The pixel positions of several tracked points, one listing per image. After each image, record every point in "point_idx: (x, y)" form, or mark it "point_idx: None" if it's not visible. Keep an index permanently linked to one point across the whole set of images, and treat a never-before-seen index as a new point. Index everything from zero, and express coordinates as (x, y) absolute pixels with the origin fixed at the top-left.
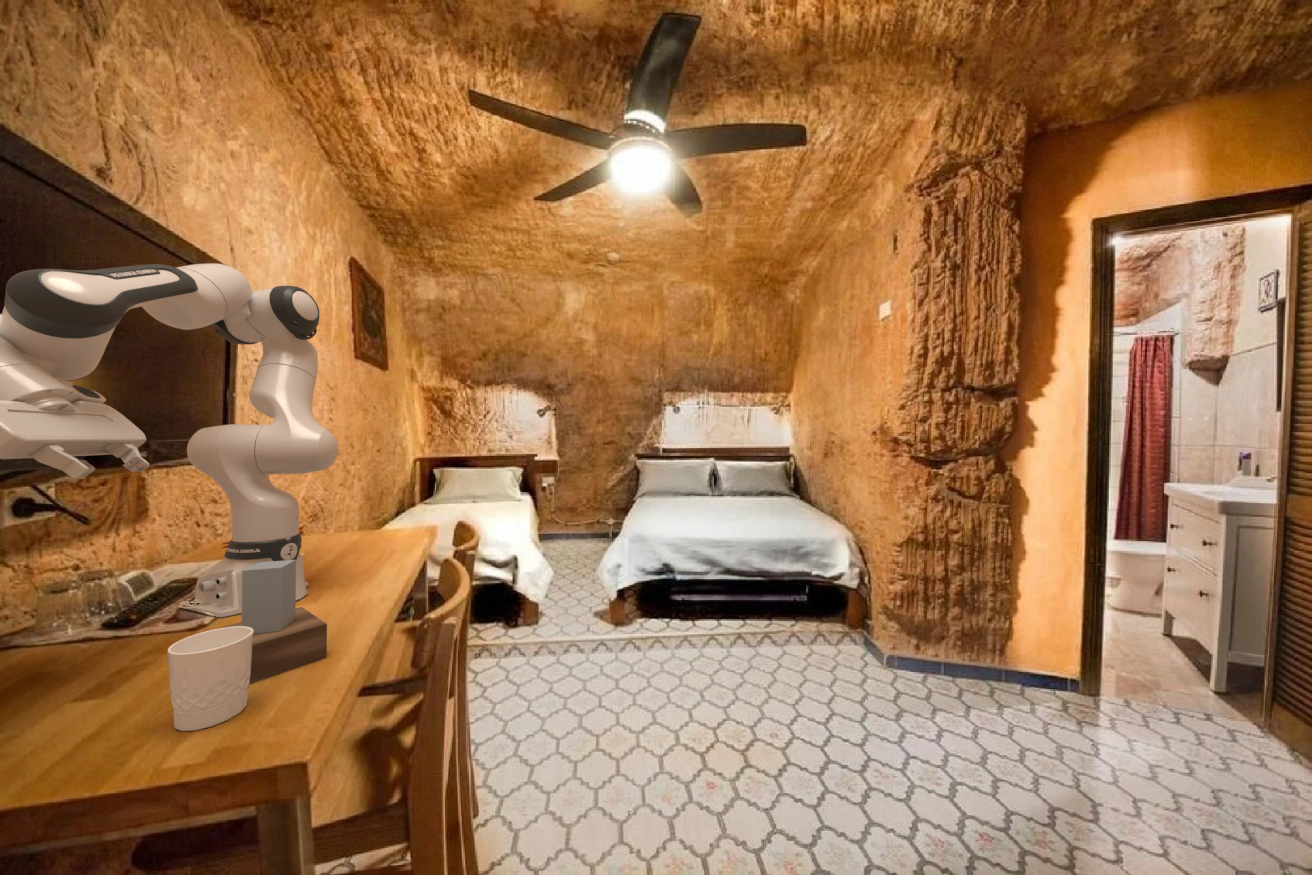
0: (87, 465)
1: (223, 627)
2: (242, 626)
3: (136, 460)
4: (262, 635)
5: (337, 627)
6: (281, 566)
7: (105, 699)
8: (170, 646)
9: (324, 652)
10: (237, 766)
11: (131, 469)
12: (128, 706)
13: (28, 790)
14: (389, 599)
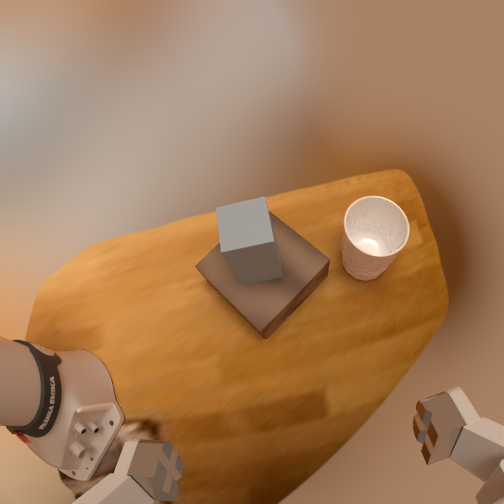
0: (445, 403)
1: (252, 319)
2: (345, 218)
3: (159, 462)
4: (287, 253)
5: (185, 256)
6: (258, 200)
7: (327, 385)
8: (395, 252)
9: None
10: (417, 196)
11: (179, 469)
12: (344, 349)
13: (442, 309)
14: (113, 241)
